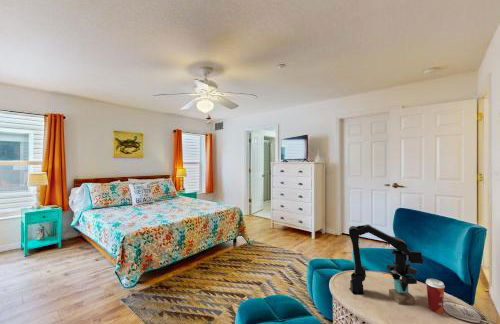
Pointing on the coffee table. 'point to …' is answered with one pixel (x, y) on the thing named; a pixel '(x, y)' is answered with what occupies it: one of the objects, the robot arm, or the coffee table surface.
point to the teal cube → (399, 287)
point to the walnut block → (401, 297)
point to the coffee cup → (435, 295)
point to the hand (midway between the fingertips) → (401, 288)
